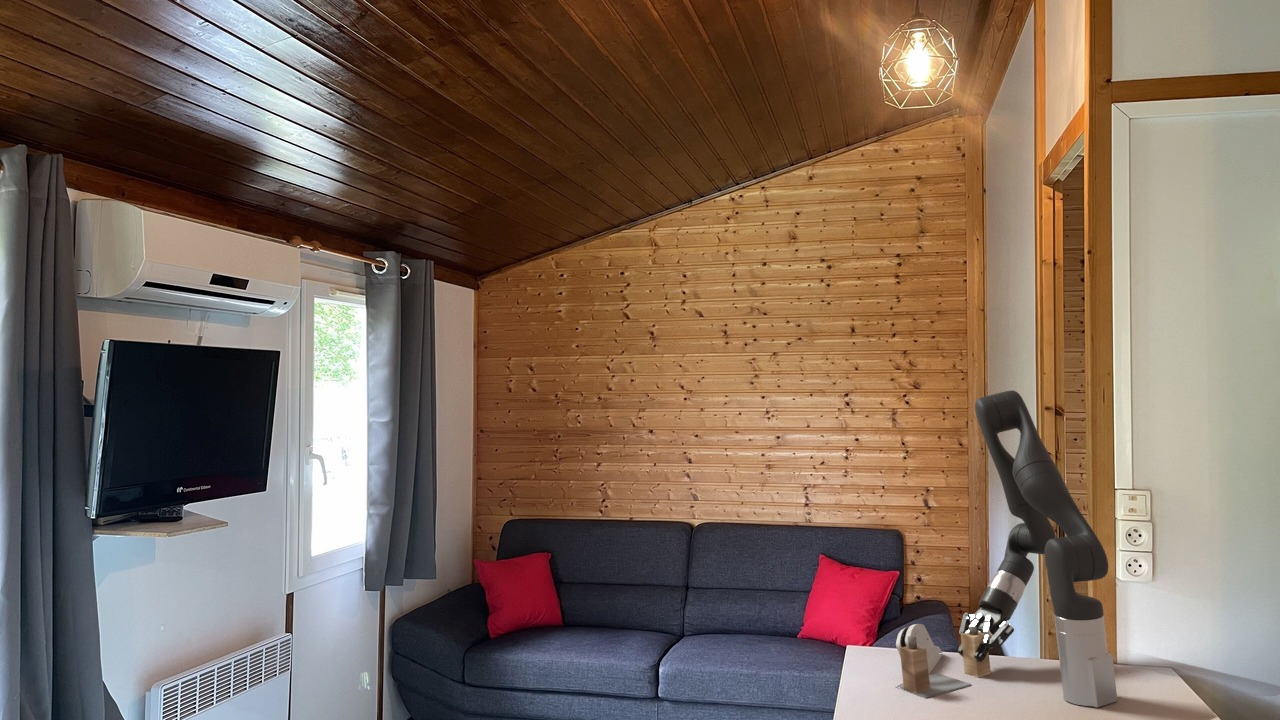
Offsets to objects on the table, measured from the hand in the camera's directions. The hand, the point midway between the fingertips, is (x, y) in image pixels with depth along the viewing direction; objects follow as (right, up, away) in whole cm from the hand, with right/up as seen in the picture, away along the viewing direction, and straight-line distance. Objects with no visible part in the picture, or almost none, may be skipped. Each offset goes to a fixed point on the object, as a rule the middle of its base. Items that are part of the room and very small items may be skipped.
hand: (969, 657), depth 208 cm
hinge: (-8, -6, +12) cm, 15 cm away
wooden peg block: (+2, -4, +1) cm, 5 cm away
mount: (-11, -5, -5) cm, 13 cm away
